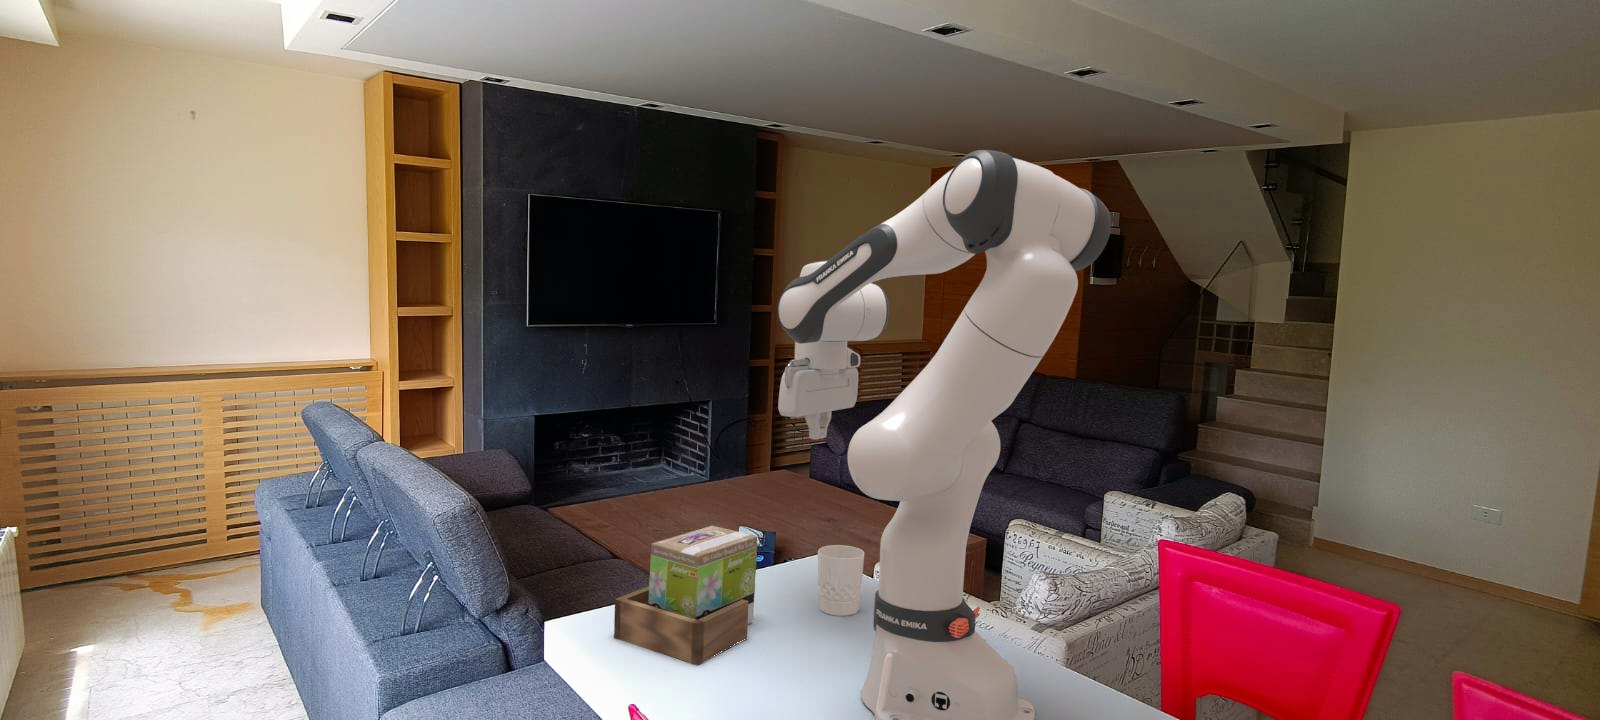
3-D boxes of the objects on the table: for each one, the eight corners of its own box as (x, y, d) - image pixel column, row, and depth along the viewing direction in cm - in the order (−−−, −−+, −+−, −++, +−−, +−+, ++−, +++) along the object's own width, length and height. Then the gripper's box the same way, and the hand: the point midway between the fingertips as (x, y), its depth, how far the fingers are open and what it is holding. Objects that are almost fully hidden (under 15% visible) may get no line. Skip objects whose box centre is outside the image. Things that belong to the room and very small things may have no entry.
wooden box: (747, 638, 134) (748, 600, 134) (697, 665, 124) (698, 624, 124) (666, 614, 143) (667, 578, 143) (614, 637, 133) (614, 599, 133)
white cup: (806, 610, 148) (809, 552, 147) (831, 597, 154) (834, 542, 153) (846, 621, 143) (848, 561, 142) (870, 608, 150) (872, 551, 149)
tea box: (695, 653, 129) (698, 555, 127) (645, 636, 134) (647, 542, 133) (755, 623, 141) (758, 533, 140) (707, 608, 147) (710, 522, 146)
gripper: (803, 361, 137) (800, 448, 138) (865, 356, 154) (862, 433, 155) (770, 358, 140) (767, 443, 141) (834, 353, 157) (832, 429, 158)
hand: (817, 438), depth 148 cm, fingers closed
